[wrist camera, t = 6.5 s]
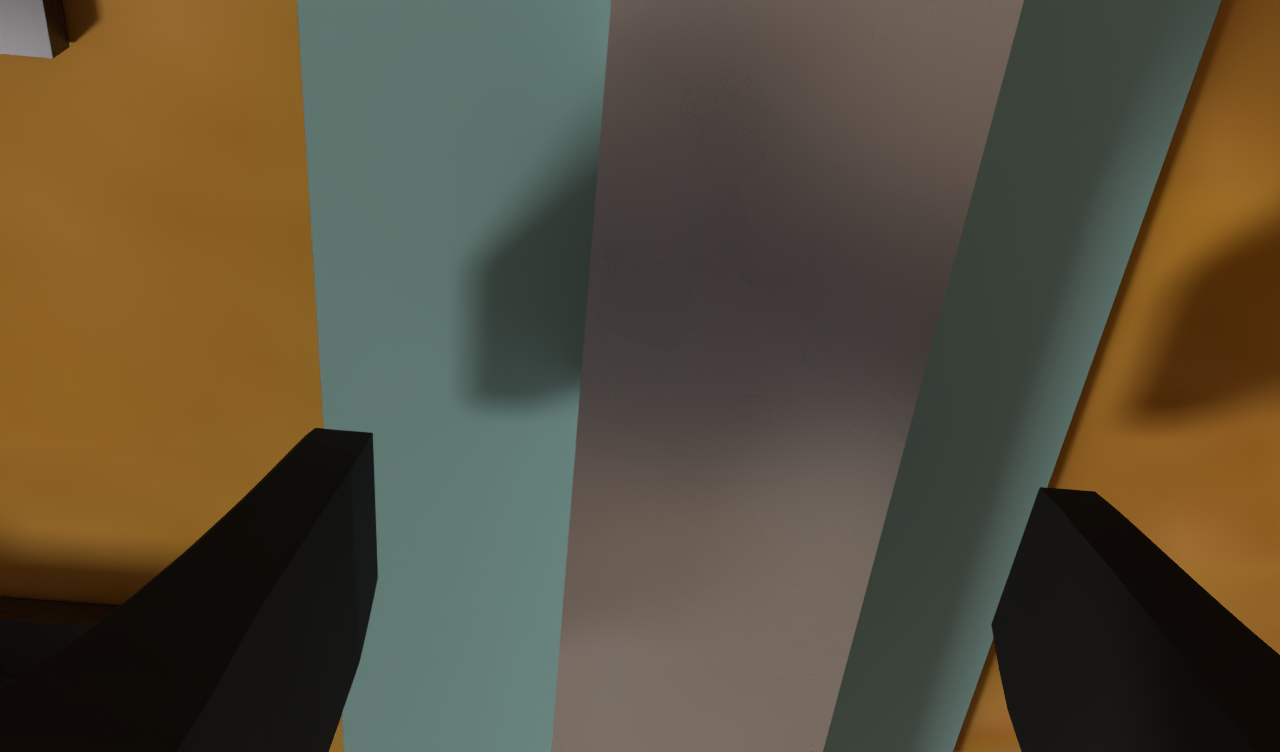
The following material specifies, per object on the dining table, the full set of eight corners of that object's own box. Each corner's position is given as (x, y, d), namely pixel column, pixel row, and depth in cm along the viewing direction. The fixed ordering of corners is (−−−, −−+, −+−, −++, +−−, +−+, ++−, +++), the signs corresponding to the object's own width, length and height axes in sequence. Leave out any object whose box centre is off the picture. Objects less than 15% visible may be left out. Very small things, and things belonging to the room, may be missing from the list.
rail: (713, 888, 19) (724, 1118, 16) (543, 878, 19) (522, 1107, 16) (997, -448, 9) (1154, -487, 6) (654, -489, 9) (656, -548, 6)
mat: (871, 948, 21) (874, 969, 20) (360, 914, 20) (356, 936, 20) (1452, -720, 9) (1483, -735, 8) (257, -875, 8) (240, -898, 8)
